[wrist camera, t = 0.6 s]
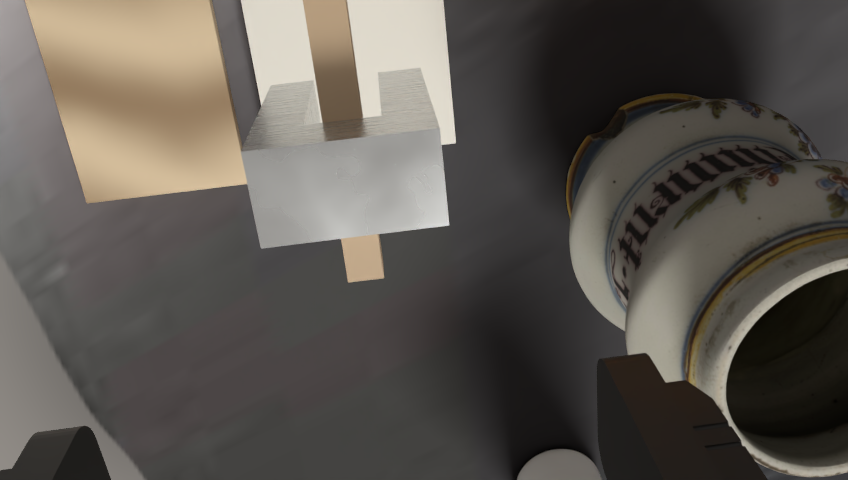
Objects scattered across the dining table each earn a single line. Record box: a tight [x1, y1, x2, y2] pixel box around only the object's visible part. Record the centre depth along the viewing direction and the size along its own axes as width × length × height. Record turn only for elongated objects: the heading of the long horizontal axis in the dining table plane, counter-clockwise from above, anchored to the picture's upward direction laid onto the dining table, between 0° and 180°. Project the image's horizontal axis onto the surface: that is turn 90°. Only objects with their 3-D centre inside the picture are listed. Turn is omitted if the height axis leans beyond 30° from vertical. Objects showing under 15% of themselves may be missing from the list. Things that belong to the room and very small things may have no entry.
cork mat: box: [25, 0, 247, 203], centre depth 37 cm, size 10×8×1 cm
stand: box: [241, 0, 456, 282], centre depth 29 cm, size 16×9×16 cm, turn 6°
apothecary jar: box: [566, 93, 848, 477], centre depth 33 cm, size 12×12×18 cm
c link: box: [241, 68, 449, 248], centre depth 26 cm, size 3×6×8 cm, turn 96°
